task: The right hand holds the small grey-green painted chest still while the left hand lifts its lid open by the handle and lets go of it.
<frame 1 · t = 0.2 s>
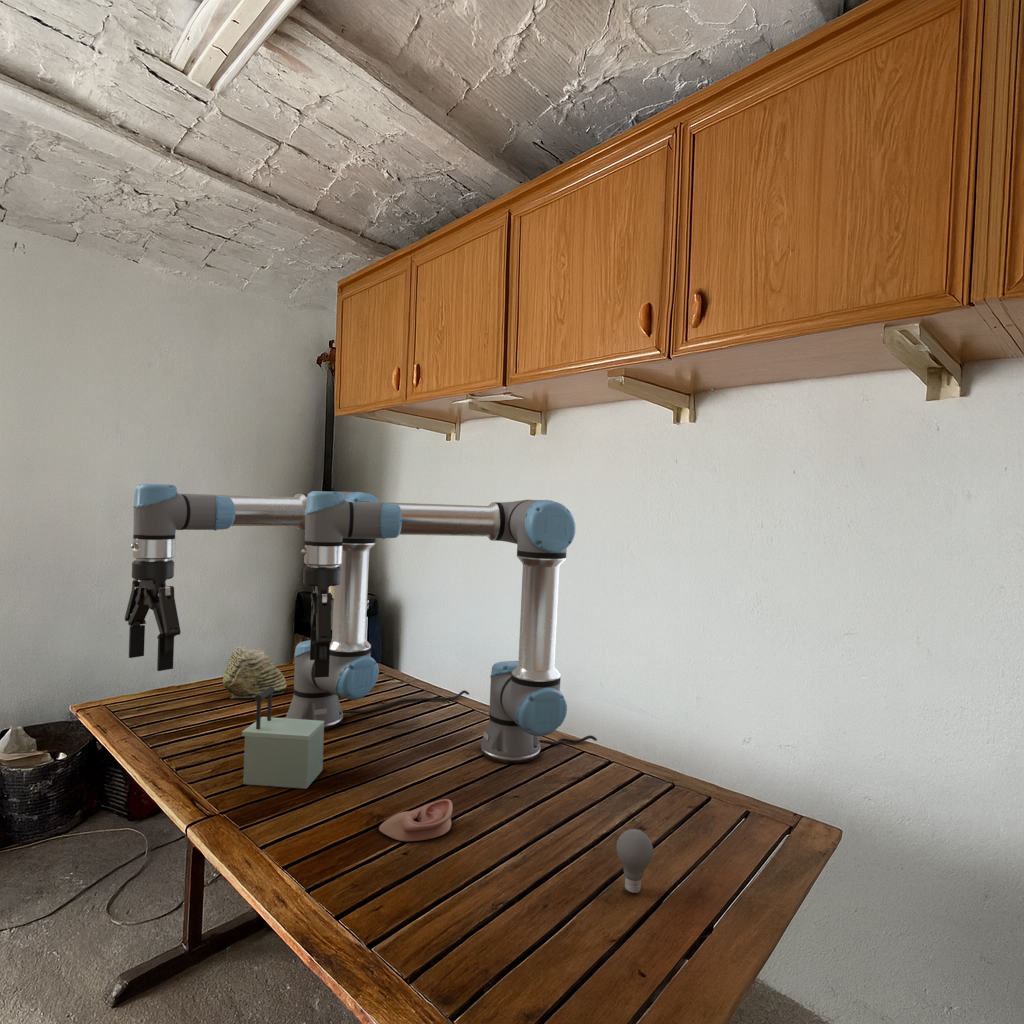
left hand: (150, 663, 129), 28 cm above the table, tool pointing down, fingers open, 13 cm apart
right hand: (318, 667, 131), 28 cm above the table, tool pointing down, fingers open, 13 cm apart
lid: (285, 711, 142), point 15 cm above the table, hinge at 0.0°
fossil: (254, 694, 198), on the table
light bulb: (632, 891, 106), on the table
anatomical model: (416, 827, 123), on the table
chest: (284, 776, 142), on the table
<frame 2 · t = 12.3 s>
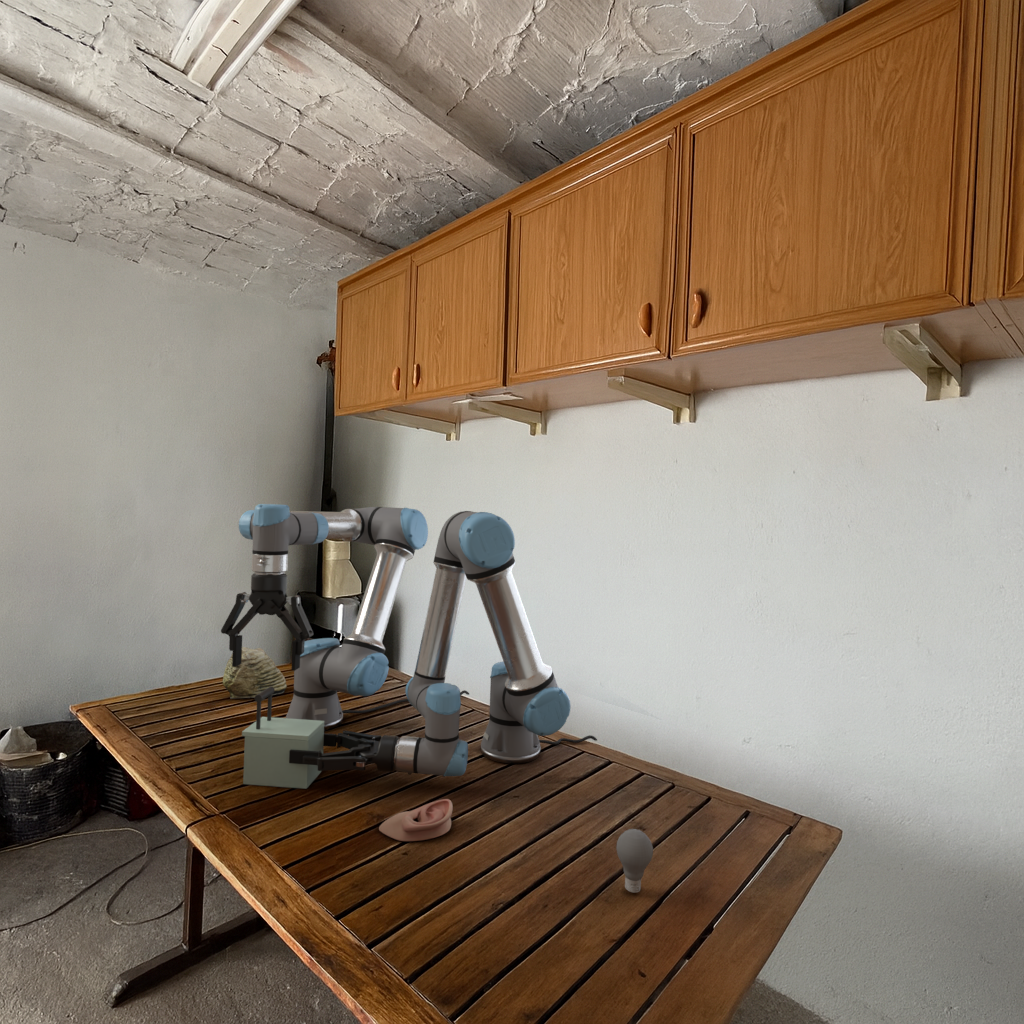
left hand: (266, 667, 142), 24 cm above the table, tool pointing down, fingers open, 13 cm apart
right hand: (299, 747, 142), 7 cm above the table, tool horizontal, fingers closed on chest, 10 cm apart
chest: (284, 776, 142), on the table, touching right hand
everything else where it was.
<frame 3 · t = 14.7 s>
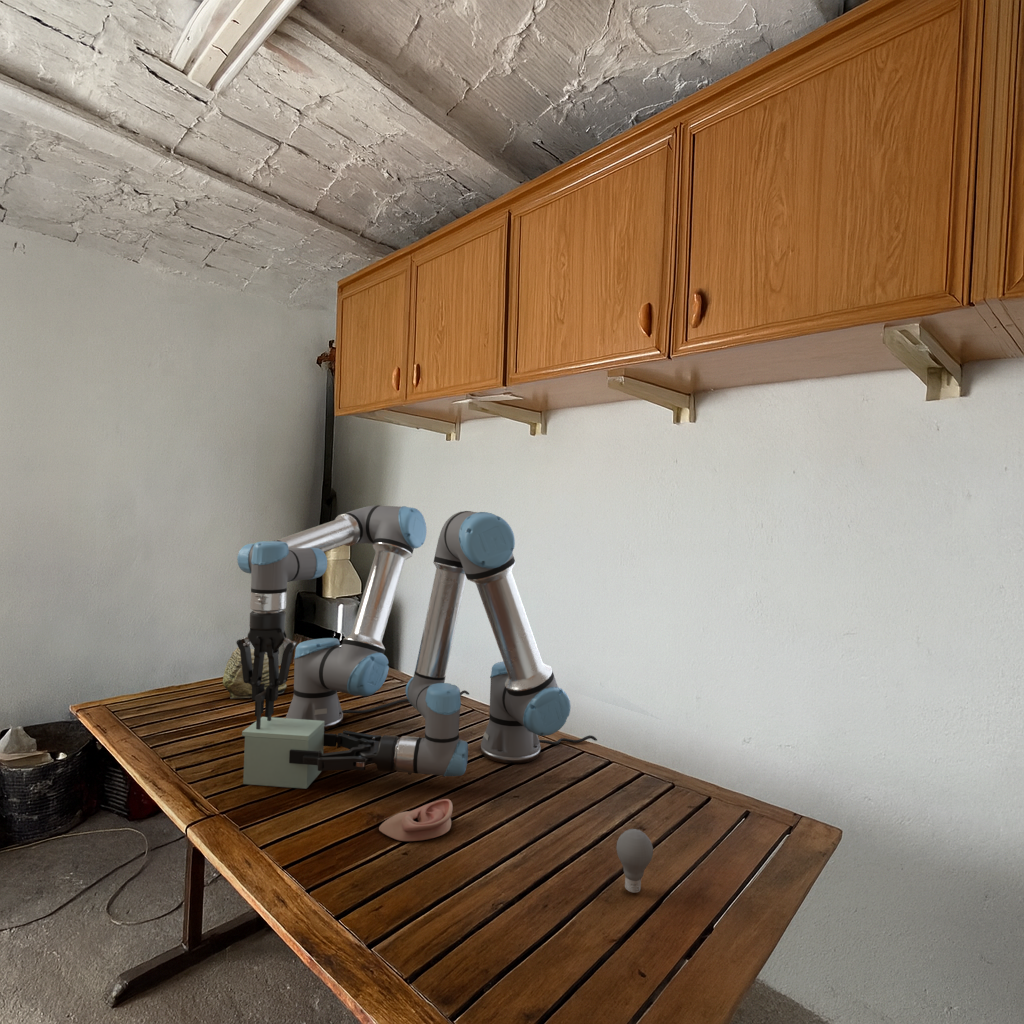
left hand: (264, 714, 142), 14 cm above the table, tool pointing down, fingers closed on lid, 2 cm apart
right hand: (299, 747, 142), 7 cm above the table, tool horizontal, fingers closed on chest, 10 cm apart
lid: (285, 711, 142), point 15 cm above the table, hinge at 0.0°, touching left hand
chest: (284, 776, 142), on the table, touching right hand
everything else where it was.
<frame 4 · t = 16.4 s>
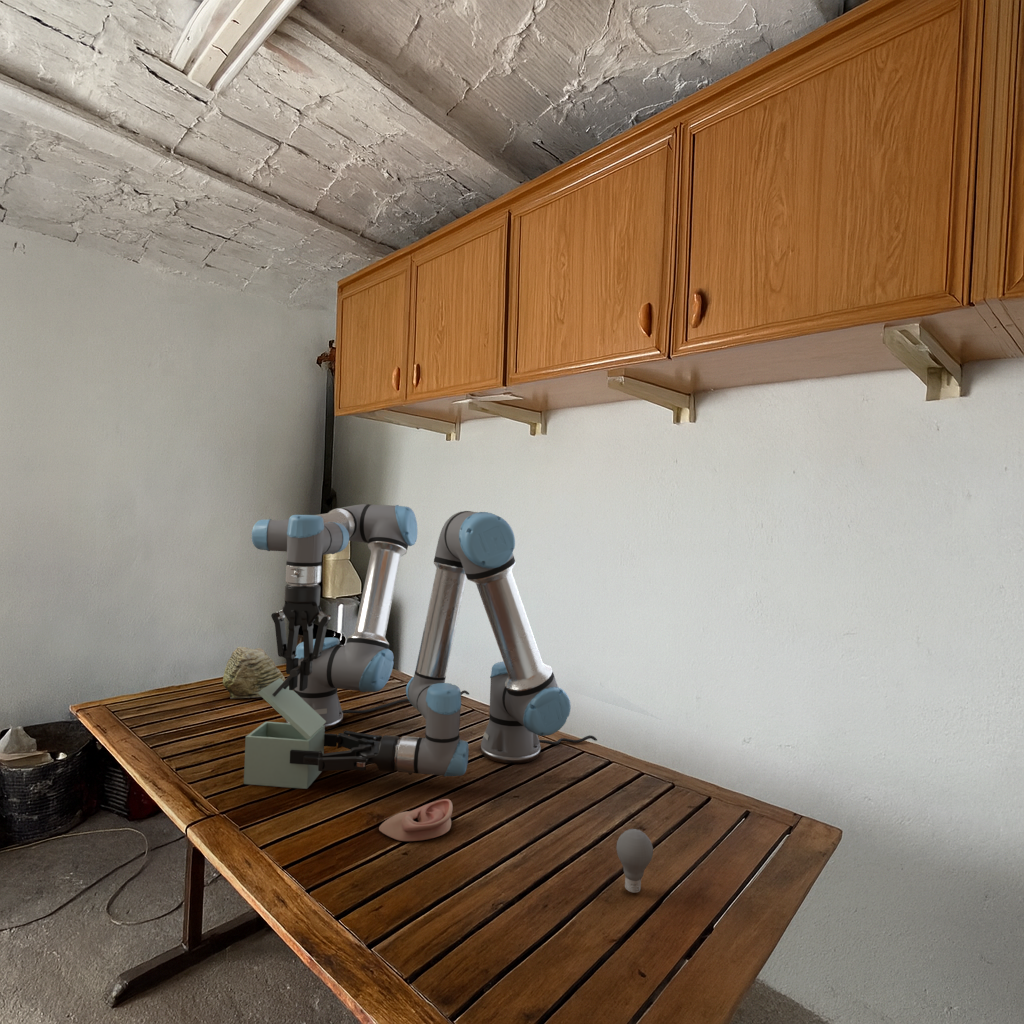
left hand: (298, 688, 142), 20 cm above the table, tool pointing down, fingers closed on lid, 2 cm apart
right hand: (300, 747, 142), 7 cm above the table, tool horizontal, fingers closed on chest, 10 cm apart
lid: (304, 695, 142), point 19 cm above the table, hinge at 39.6°, touching left hand
chest: (284, 776, 142), on the table, touching right hand
everything else where it was.
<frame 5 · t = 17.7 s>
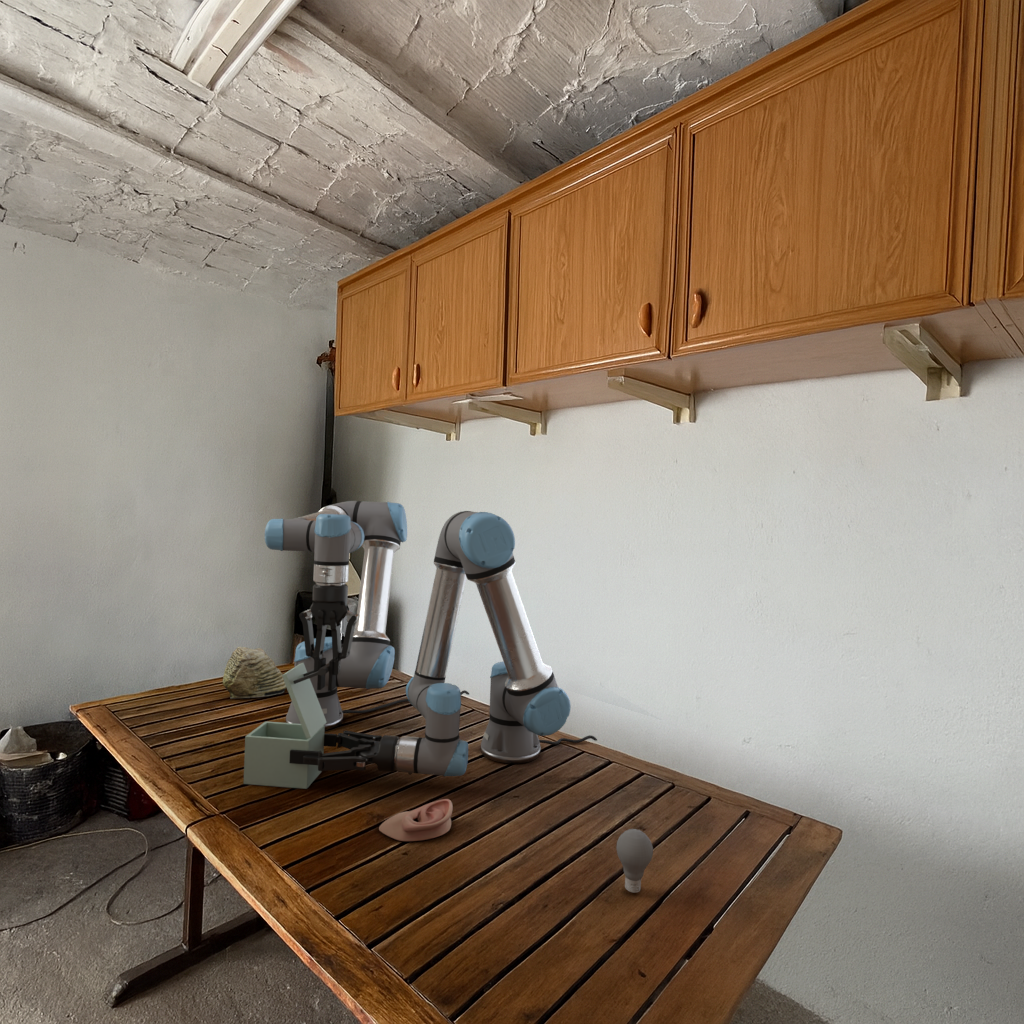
left hand: (326, 688, 141), 21 cm above the table, tool pointing down, fingers closed on lid, 2 cm apart
right hand: (299, 747, 142), 7 cm above the table, tool horizontal, fingers closed on chest, 10 cm apart
lid: (320, 693, 141), point 19 cm above the table, hinge at 65.8°, touching left hand
chest: (284, 776, 142), on the table, touching right hand
everything else where it was.
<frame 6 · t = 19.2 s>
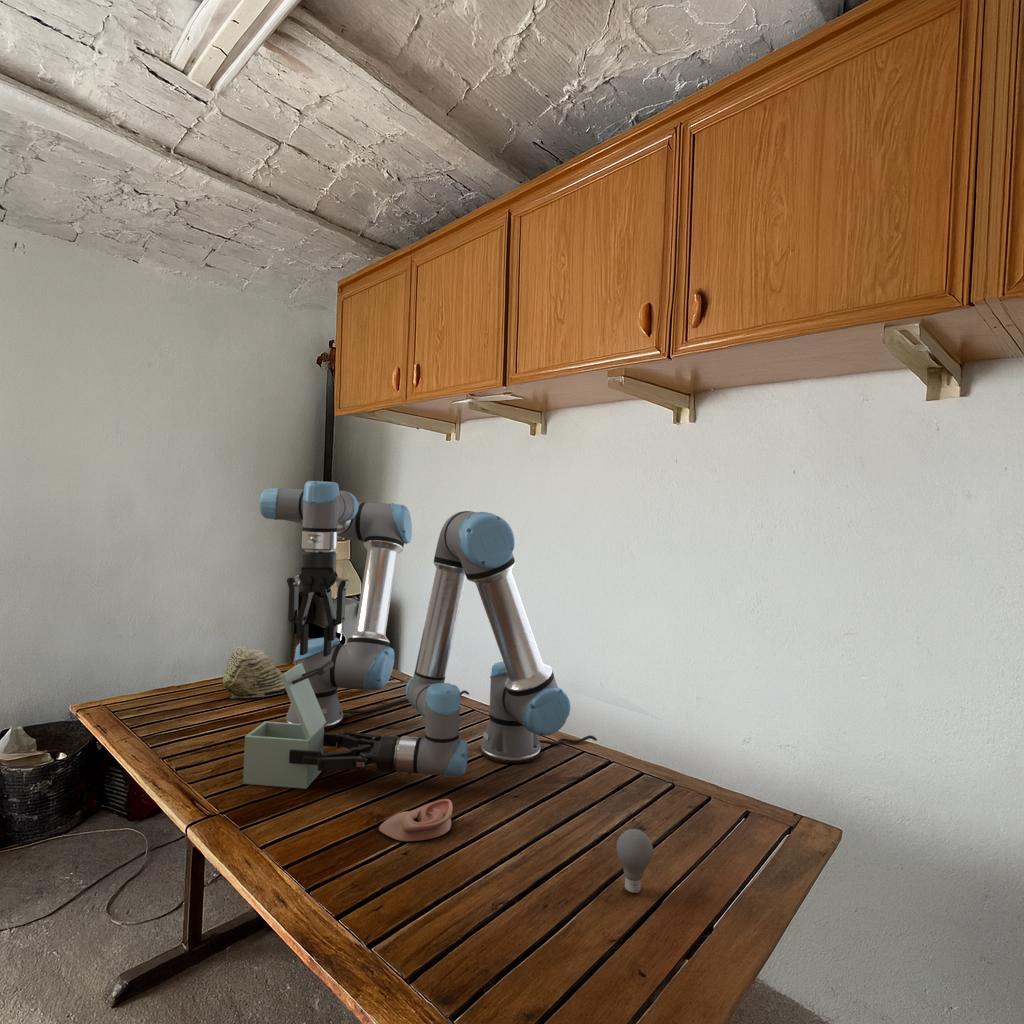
left hand: (315, 654, 142), 28 cm above the table, tool pointing down, fingers open, 5 cm apart
right hand: (299, 747, 142), 7 cm above the table, tool horizontal, fingers closed on chest, 10 cm apart
lid: (319, 693, 141), point 19 cm above the table, hinge at 64.5°
chest: (284, 776, 142), on the table, touching right hand
everything else where it was.
when the right hand's fingers open (7 cm above the table, at t = 21.5 s): chest stays where it is, on the table.
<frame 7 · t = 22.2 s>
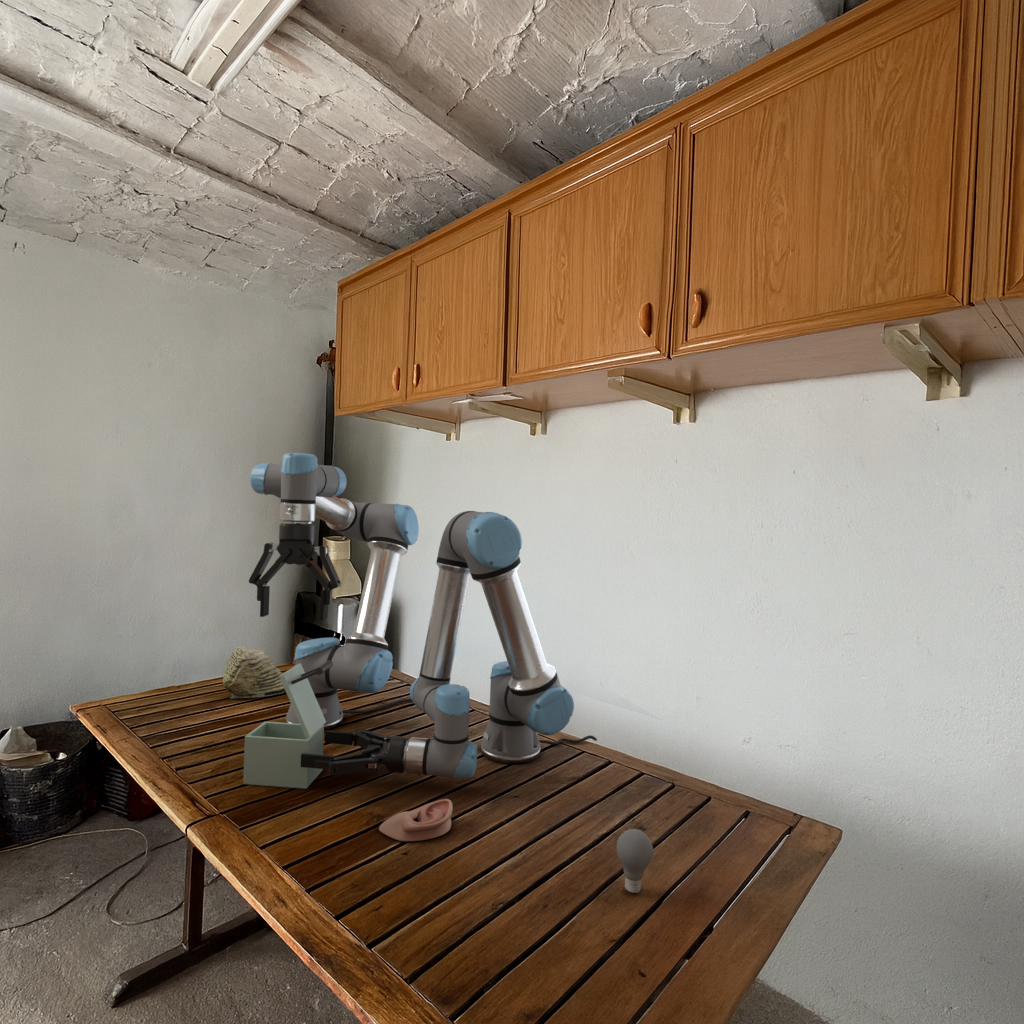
left hand: (293, 617, 142), 36 cm above the table, tool pointing down, fingers open, 13 cm apart
right hand: (313, 747, 142), 7 cm above the table, tool horizontal, fingers open, 13 cm apart
lid: (318, 693, 141), point 19 cm above the table, hinge at 63.8°
chest: (284, 776, 142), on the table
everything else where it was.
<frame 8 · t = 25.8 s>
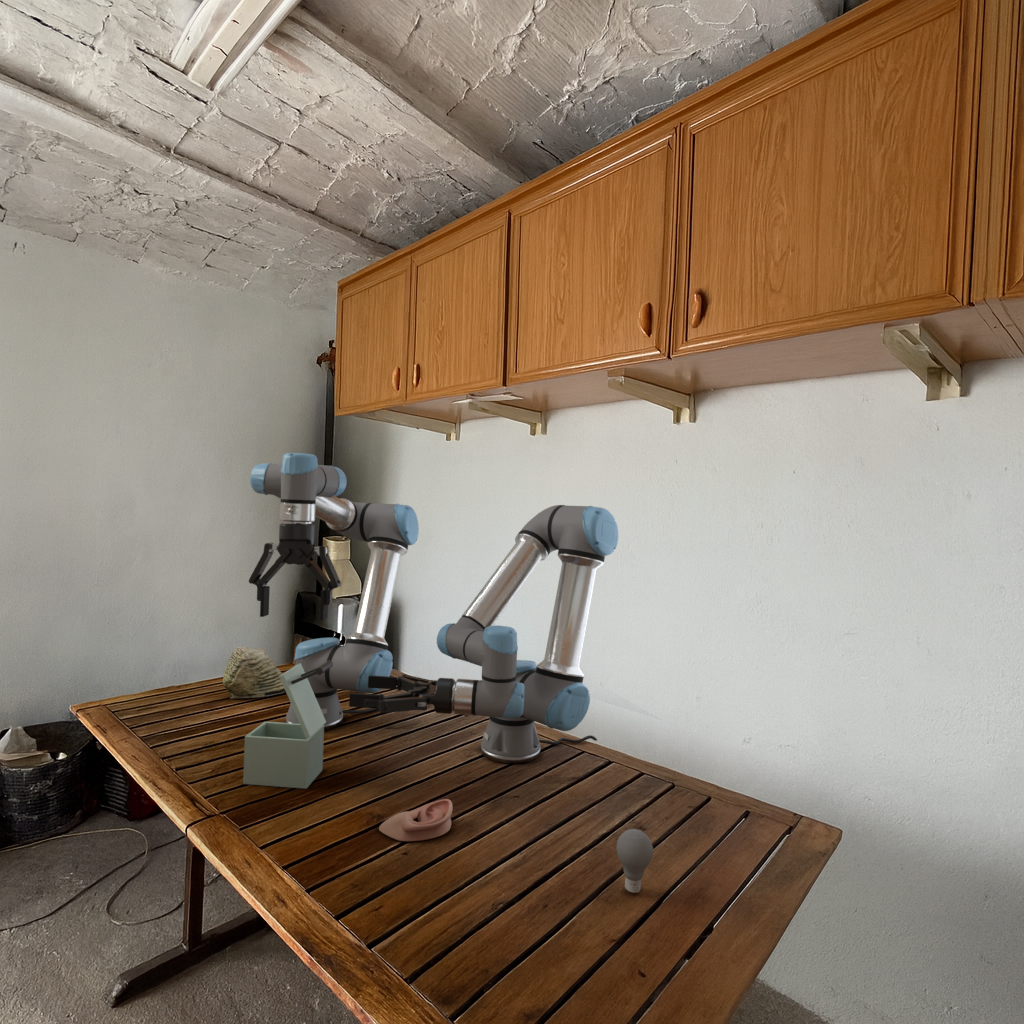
left hand: (293, 617, 142), 36 cm above the table, tool pointing down, fingers open, 13 cm apart
right hand: (359, 690, 141), 21 cm above the table, tool horizontal, fingers open, 13 cm apart
nothing on the table moved.
at the end: lid at +64° (first picture: +0°); the left hand is holding nothing; the right hand is holding nothing; chest tilted 0°; chest never tilted more than 1° during the clip; chest moved 0.1 cm from its start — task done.
